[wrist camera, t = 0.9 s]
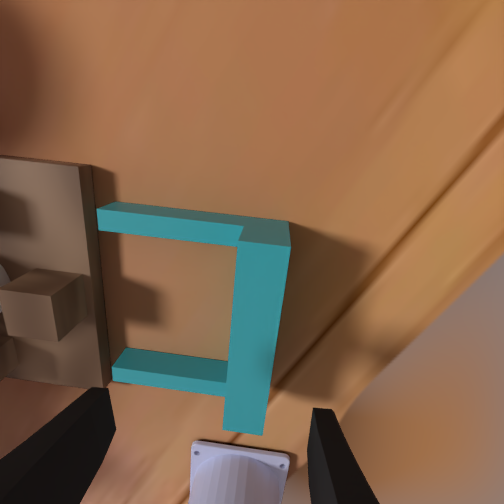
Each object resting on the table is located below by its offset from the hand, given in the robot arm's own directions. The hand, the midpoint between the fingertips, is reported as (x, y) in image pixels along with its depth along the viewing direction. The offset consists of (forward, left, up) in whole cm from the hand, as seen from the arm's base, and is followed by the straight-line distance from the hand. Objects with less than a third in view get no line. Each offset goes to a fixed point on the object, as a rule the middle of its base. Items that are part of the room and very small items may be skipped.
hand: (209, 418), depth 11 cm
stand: (-1, +16, -10) cm, 19 cm away
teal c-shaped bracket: (-1, +3, -10) cm, 10 cm away
